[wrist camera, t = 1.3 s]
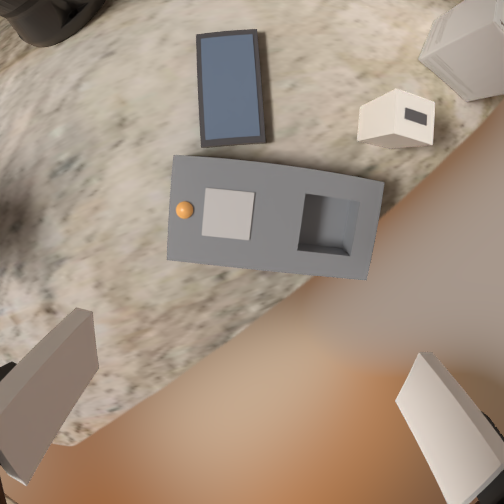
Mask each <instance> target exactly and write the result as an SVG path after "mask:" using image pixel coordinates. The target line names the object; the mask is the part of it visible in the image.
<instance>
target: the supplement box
mask: <svg viewBox="0 0 504 504" xmlns="http://www.w3.org/2000/svg"><path fill="white" fill-rule="evenodd" d="M418 60H419V61H420V62H421V63H423V64H424V65H425V66H426V67H428V68H429V69H430V70H431V71H432V72H434V73H435V74H436V75H437V76H438V77H440V78H441V79H442V80H443V81H444V82H445V83H446V84H447V85H449V86H450V87H451V88H452V89H453V90H454V91H455V92H456V93H457V94H458V95H459V96H460V97H461V98H462V99H464V100H465V101H466V102H469V101H473V100H478V99H482V98H487V97H492V96H497V95H503V94H504V0H464V1H463V2H461V3H460V4H458V5H457V6H455V7H454V8H452V9H451V10H449V11H448V12H446V13H445V14H443V15H442V16H440V17H439V18H437V19H436V20H434V22H433V25H432V27H431V30H430V32H429V35H428V37H427V39H426V42H425V44H424V47H423V49H422V51H421V54H420V56H419V59H418Z"/></svg>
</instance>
